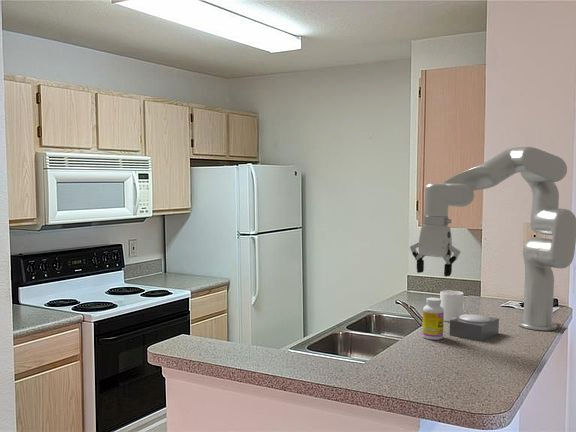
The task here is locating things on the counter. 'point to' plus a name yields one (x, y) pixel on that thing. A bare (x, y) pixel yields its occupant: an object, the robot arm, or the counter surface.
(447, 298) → the mug
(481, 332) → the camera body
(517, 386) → the counter surface
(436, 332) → the supplement bottle
